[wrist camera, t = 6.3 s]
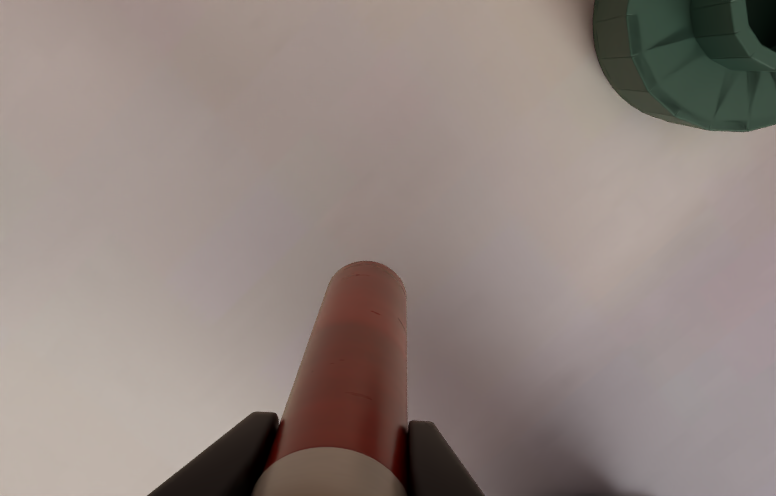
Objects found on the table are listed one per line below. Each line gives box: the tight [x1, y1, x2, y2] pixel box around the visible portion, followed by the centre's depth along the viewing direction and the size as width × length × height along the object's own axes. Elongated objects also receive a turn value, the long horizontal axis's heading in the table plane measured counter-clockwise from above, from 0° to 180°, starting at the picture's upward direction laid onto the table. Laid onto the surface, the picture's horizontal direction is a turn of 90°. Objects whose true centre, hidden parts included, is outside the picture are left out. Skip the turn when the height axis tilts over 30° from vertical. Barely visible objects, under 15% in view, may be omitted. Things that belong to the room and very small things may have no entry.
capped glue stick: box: [251, 261, 408, 496], centre depth 9 cm, size 2×2×11 cm
